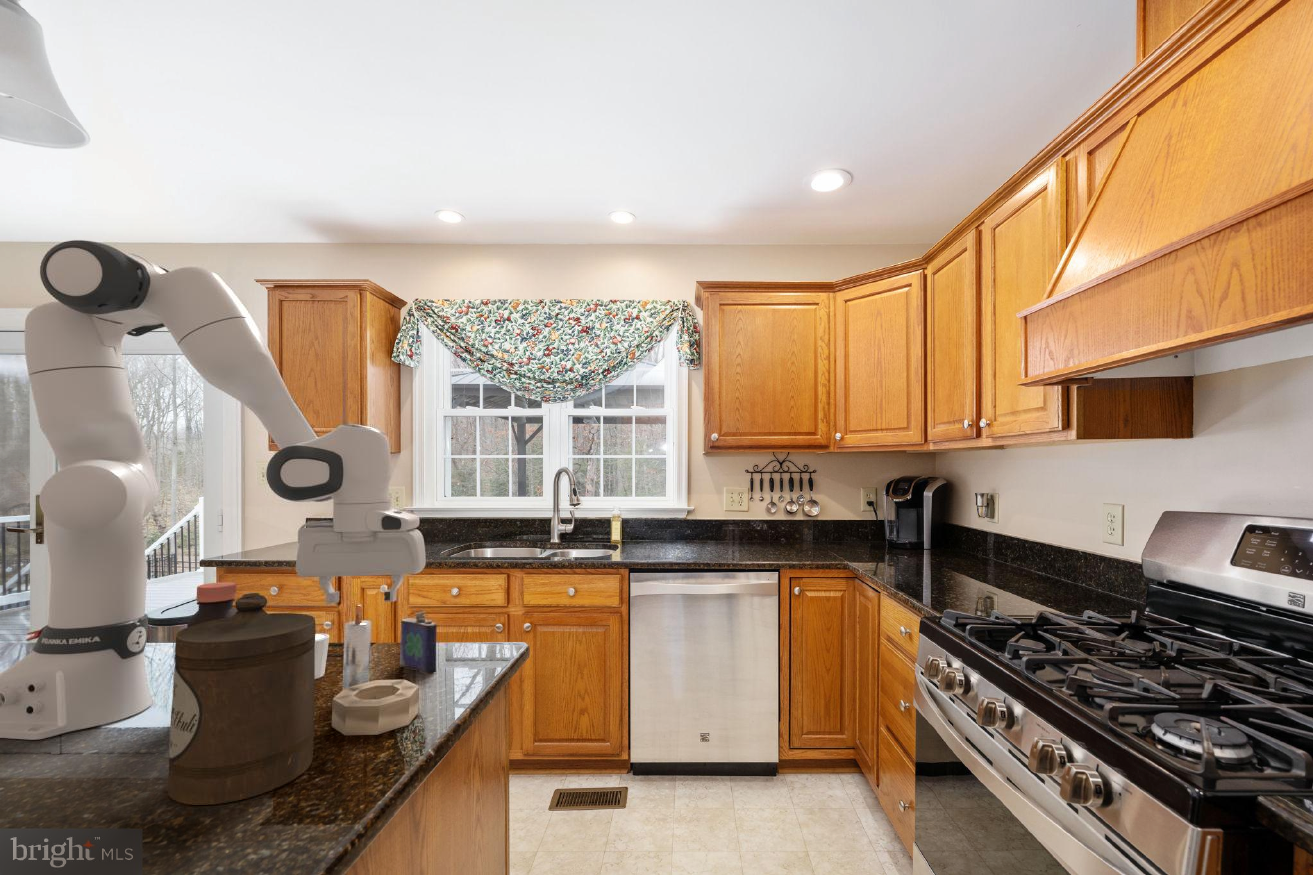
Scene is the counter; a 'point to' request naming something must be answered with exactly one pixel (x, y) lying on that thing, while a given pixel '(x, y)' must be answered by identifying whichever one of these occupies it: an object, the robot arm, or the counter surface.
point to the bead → (375, 707)
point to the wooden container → (241, 704)
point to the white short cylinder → (320, 653)
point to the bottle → (214, 602)
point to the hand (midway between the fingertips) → (361, 602)
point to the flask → (418, 644)
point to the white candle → (356, 650)
